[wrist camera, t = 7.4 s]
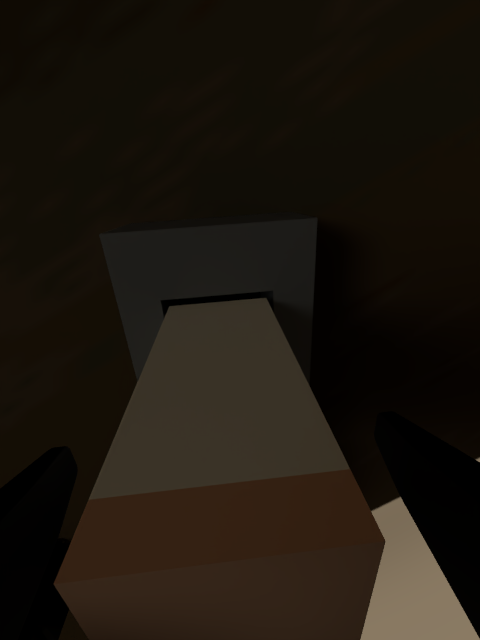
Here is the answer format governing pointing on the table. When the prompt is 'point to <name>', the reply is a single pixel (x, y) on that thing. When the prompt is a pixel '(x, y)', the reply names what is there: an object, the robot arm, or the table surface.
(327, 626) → the brown rectangular block
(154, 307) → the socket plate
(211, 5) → the table surface
